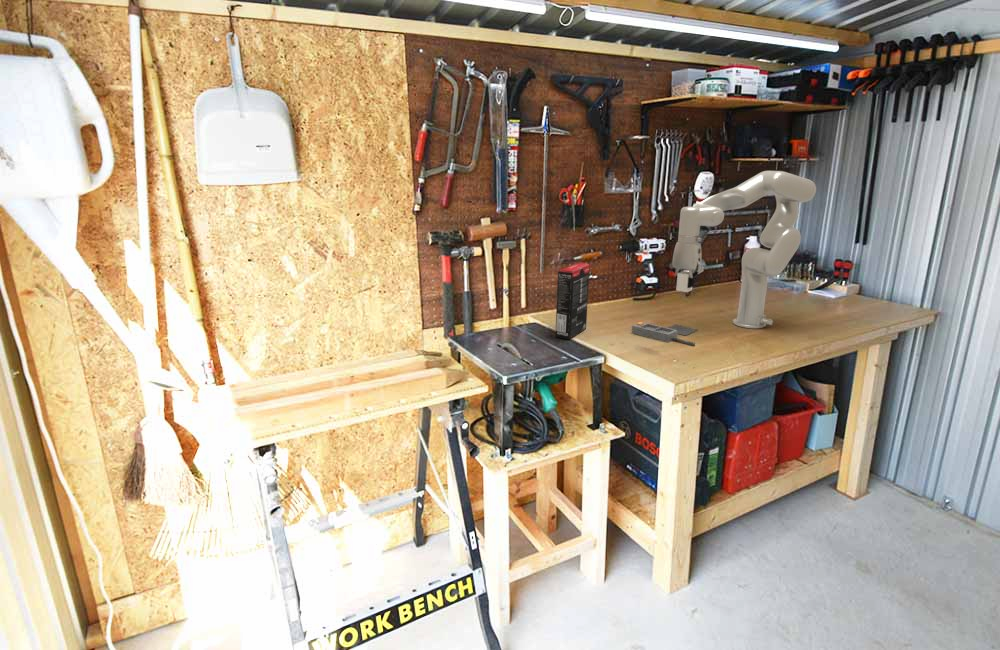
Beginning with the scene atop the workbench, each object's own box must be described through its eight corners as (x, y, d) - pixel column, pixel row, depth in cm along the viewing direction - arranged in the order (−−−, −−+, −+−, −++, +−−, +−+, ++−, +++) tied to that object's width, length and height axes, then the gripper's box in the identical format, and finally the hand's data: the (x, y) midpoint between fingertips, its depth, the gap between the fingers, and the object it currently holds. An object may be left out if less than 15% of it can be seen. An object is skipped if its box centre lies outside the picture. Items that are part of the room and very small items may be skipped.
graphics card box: (572, 326, 227) (574, 261, 219) (588, 328, 224) (590, 263, 215) (554, 338, 213) (555, 269, 205) (571, 341, 210) (573, 271, 201)
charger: (692, 290, 214) (693, 272, 212) (686, 292, 212) (688, 273, 209) (681, 288, 218) (683, 270, 215) (676, 290, 215) (677, 272, 212)
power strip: (699, 343, 204) (700, 334, 203) (690, 348, 200) (691, 338, 198) (641, 329, 222) (642, 320, 221) (631, 333, 217) (632, 324, 216)
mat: (698, 330, 219) (698, 329, 219) (685, 336, 213) (685, 335, 213) (675, 325, 226) (675, 324, 226) (662, 330, 220) (662, 329, 220)
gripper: (714, 240, 205) (709, 288, 210) (673, 236, 217) (669, 281, 222) (704, 243, 200) (699, 291, 206) (663, 238, 212) (659, 284, 217)
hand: (684, 285), depth 214 cm, fingers closed on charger, 4 cm apart
